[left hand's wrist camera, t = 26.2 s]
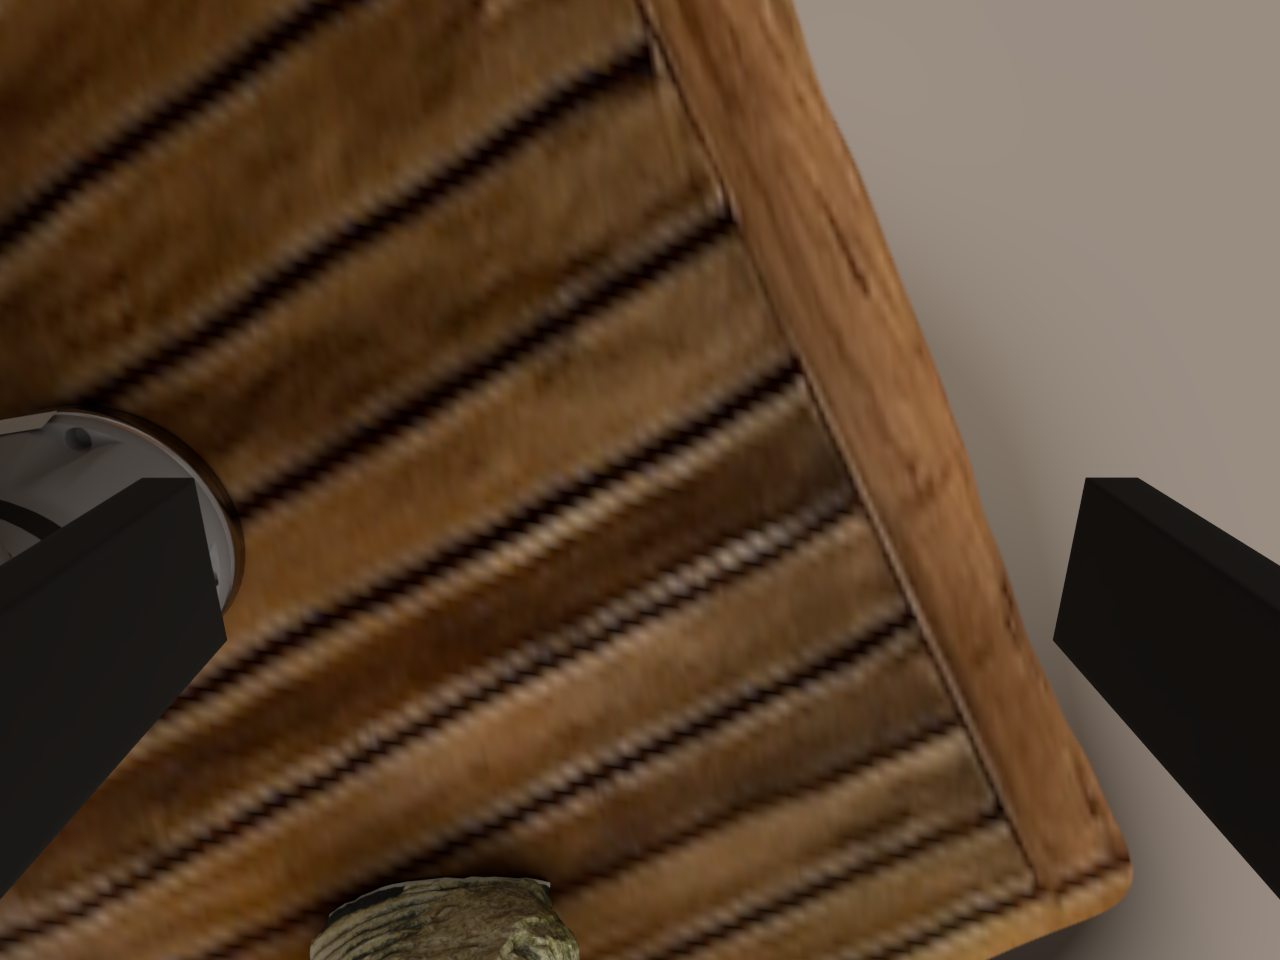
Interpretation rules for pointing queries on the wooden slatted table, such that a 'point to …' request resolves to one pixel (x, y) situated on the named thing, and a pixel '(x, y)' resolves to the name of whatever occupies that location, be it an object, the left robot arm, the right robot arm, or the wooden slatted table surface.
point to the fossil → (449, 923)
